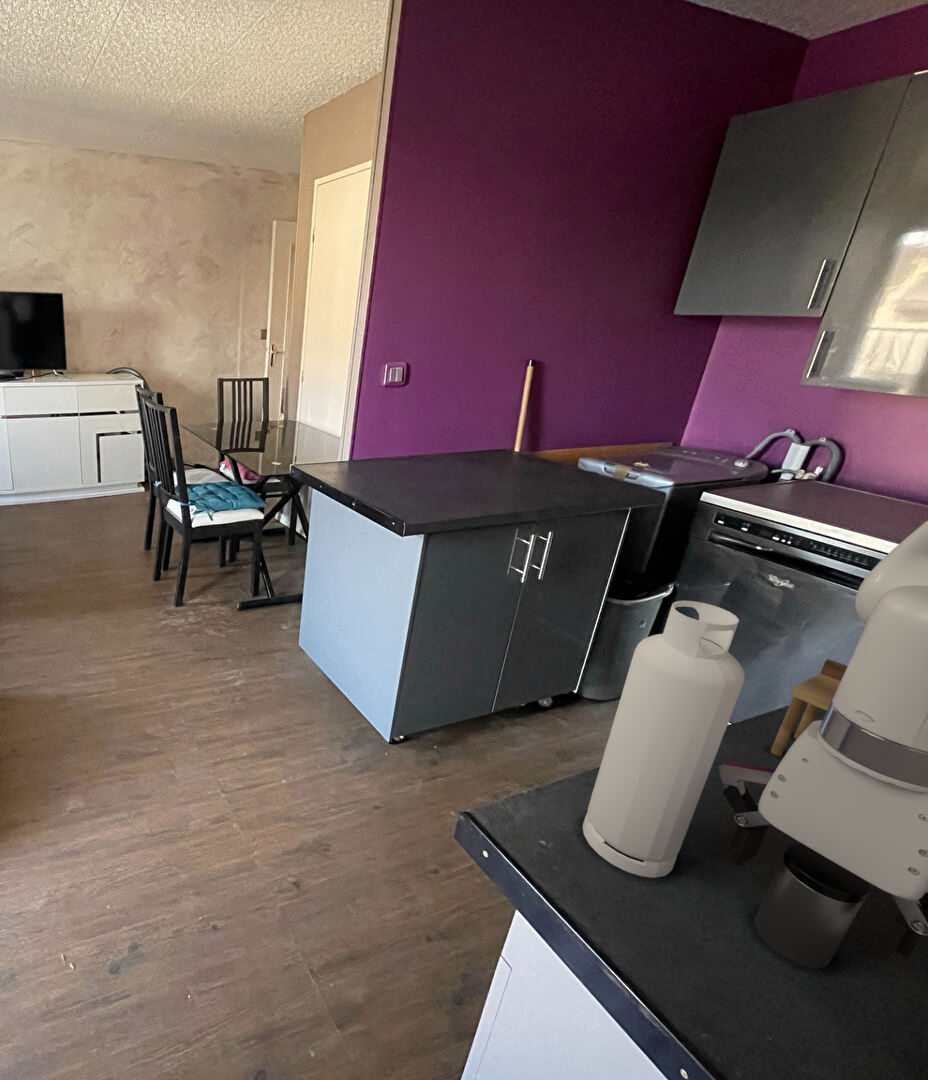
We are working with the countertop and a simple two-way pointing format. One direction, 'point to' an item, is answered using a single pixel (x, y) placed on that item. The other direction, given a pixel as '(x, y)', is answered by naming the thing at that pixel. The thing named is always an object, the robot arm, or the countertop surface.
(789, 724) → the small wooden chair
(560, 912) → the countertop surface
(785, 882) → the canister
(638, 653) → the bottle
